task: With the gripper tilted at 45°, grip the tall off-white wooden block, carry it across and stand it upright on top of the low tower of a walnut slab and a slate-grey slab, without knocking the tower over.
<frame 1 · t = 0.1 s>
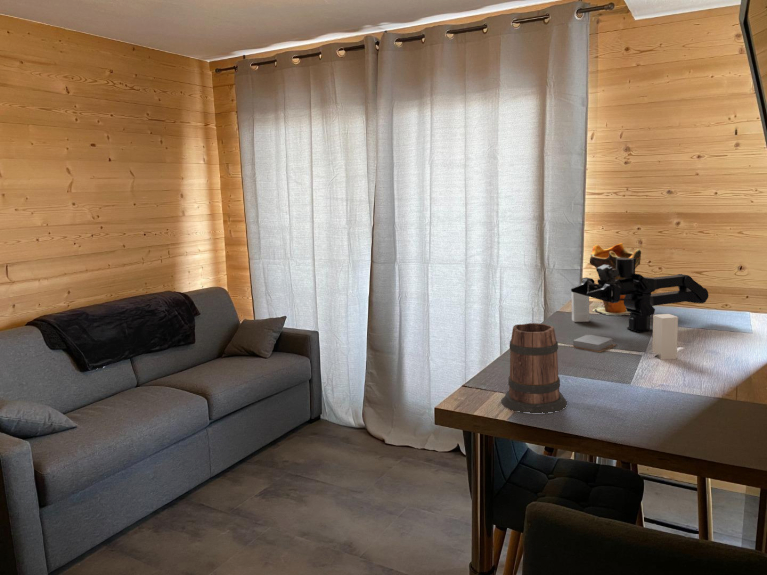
hand: (579, 292, 211), 17 cm above the table, tool horizontal, fingers open, 9 cm apart
tankard: (536, 398, 160), on the table
decorative vase: (615, 311, 253), on the table
tall block: (664, 356, 188), on the table
tower base: (592, 351, 200), on the table, touching tower top
skincare box: (580, 321, 239), on the table
tower top: (592, 345, 200), point 1 cm above the table, touching tower base
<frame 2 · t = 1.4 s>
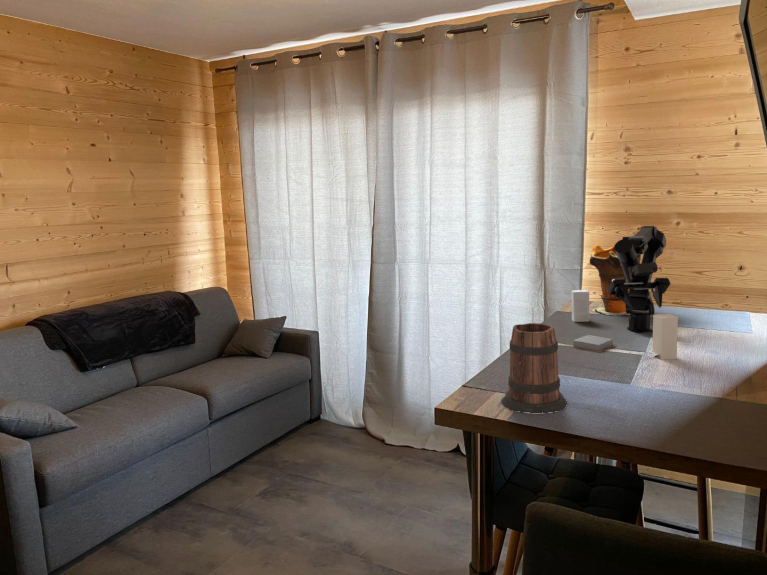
hand: (646, 307, 194), 14 cm above the table, tool tilted 45°, fingers open, 9 cm apart
nothing on the table moved.
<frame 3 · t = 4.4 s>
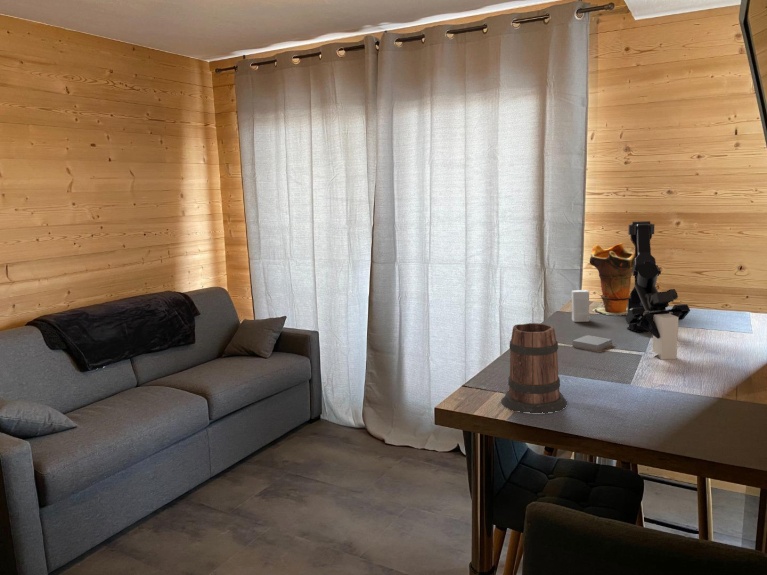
hand: (667, 337, 186), 7 cm above the table, tool tilted 45°, fingers closed on tall block, 5 cm apart
tall block: (664, 356, 188), on the table, touching gripper
everything else where it was.
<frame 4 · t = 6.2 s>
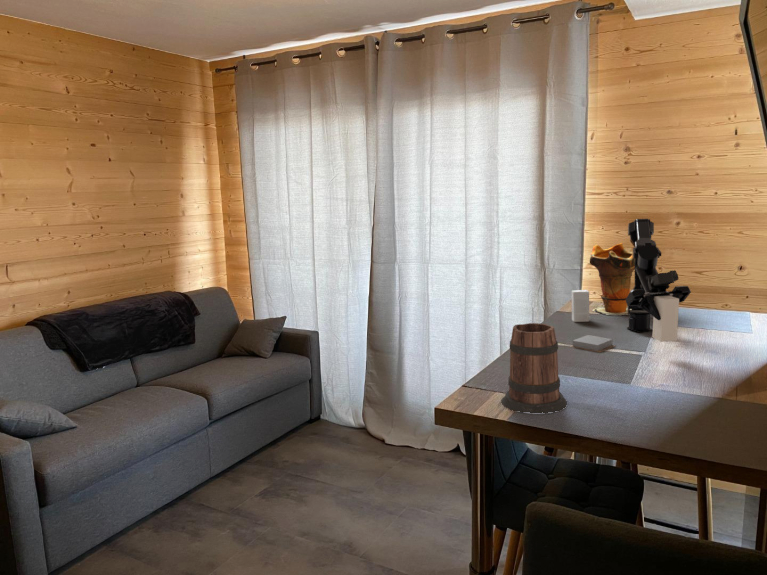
hand: (668, 318, 185), 12 cm above the table, tool tilted 45°, fingers closed on tall block, 5 cm apart
tall block: (664, 338, 187), point 6 cm above the table, touching gripper
tower base: (592, 351, 200), on the table
tower top: (592, 345, 200), point 1 cm above the table
everything else where it was.
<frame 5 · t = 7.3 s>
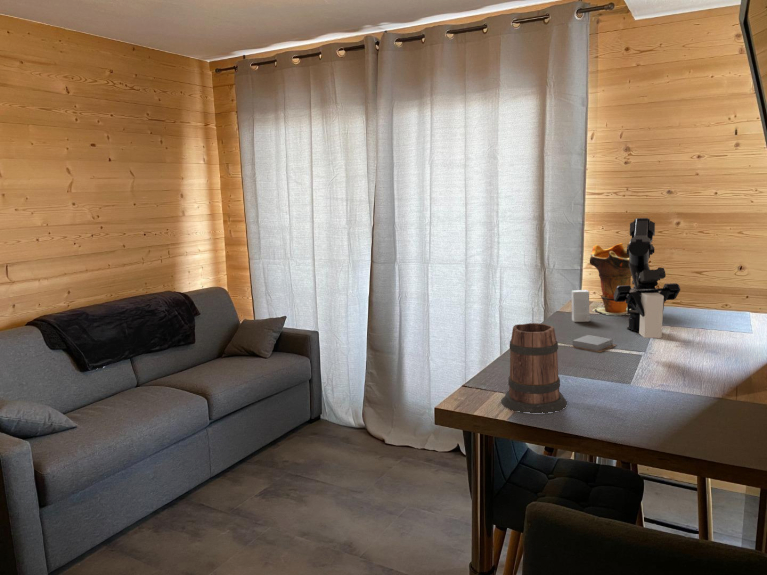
hand: (652, 315, 186), 13 cm above the table, tool tilted 45°, fingers closed on tall block, 5 cm apart
tall block: (650, 335, 189), point 7 cm above the table, touching gripper
tower base: (592, 351, 200), on the table, touching tower top
tower top: (592, 345, 200), point 1 cm above the table, touching tower base
everything else where it was.
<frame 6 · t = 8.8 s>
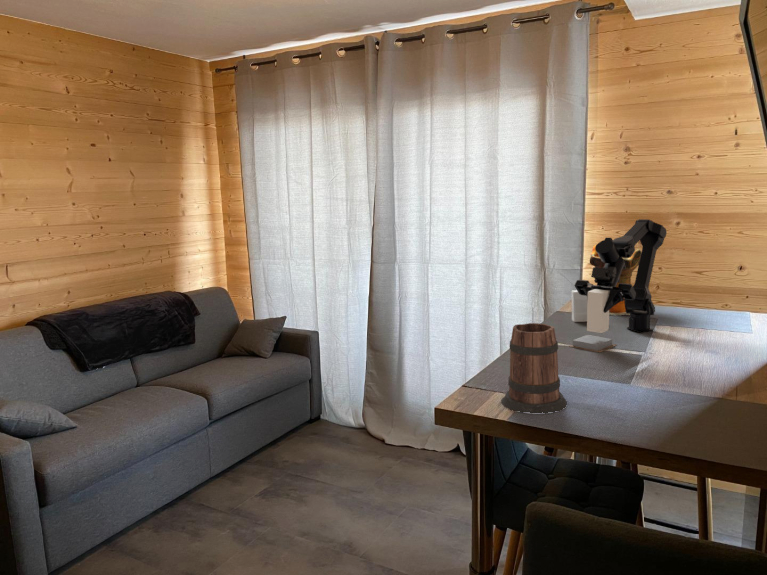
hand: (596, 311, 196), 13 cm above the table, tool tilted 45°, fingers closed on tall block, 5 cm apart
tall block: (597, 330, 198), point 7 cm above the table, touching gripper
tower base: (592, 351, 200), on the table
tower top: (592, 345, 200), point 1 cm above the table
everything else where it was.
when the fingers open (11 cm above the table, at t = 10.0 s): tall block drops 2 cm, point 3 cm above the table.
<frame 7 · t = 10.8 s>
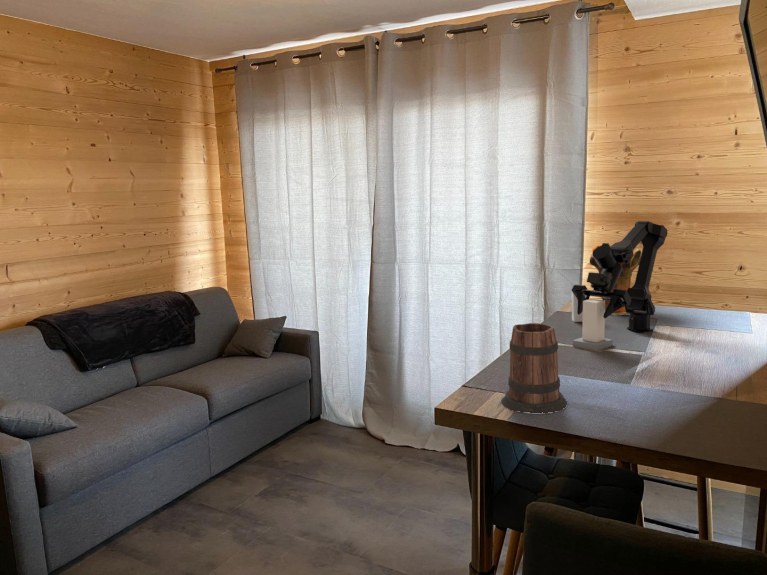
hand: (591, 315, 197), 12 cm above the table, tool tilted 45°, fingers open, 9 cm apart
tall block: (593, 339, 200), point 3 cm above the table
tower base: (593, 351, 200), on the table, touching tower top
tower top: (592, 345, 200), point 1 cm above the table, touching tower base
everything else where it was.
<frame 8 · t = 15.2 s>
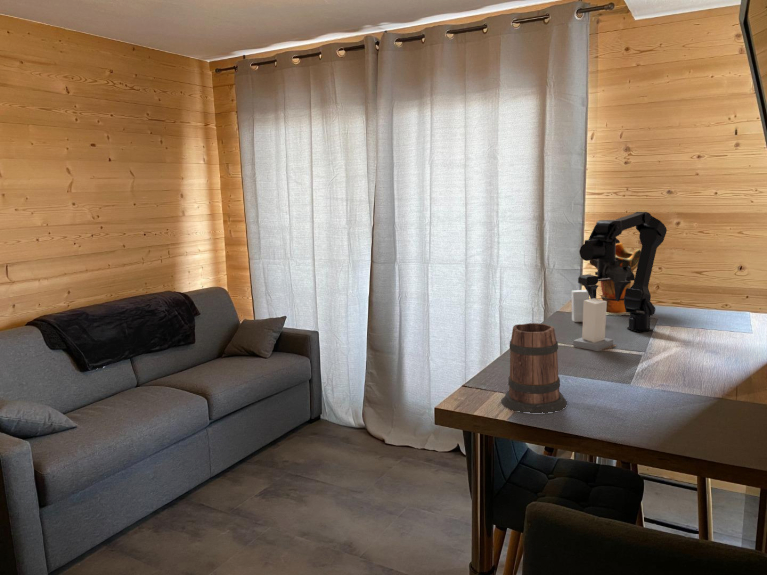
hand: (606, 302, 209), 13 cm above the table, tool pointing down, fingers open, 9 cm apart
tall block: (593, 339, 200), point 3 cm above the table, touching tower top
tower top: (593, 345, 200), point 1 cm above the table, touching tall block, tower base
everything else where it was.
at the end: tall block 0.2 cm off-centre on the tower top, point 2.3 cm above the tower top's base; tall block tilted 5°; tower top moved 0.7 cm from its start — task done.
